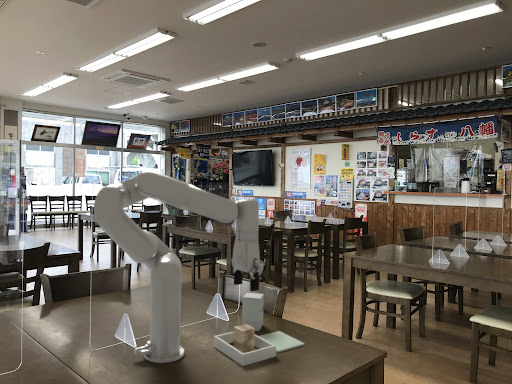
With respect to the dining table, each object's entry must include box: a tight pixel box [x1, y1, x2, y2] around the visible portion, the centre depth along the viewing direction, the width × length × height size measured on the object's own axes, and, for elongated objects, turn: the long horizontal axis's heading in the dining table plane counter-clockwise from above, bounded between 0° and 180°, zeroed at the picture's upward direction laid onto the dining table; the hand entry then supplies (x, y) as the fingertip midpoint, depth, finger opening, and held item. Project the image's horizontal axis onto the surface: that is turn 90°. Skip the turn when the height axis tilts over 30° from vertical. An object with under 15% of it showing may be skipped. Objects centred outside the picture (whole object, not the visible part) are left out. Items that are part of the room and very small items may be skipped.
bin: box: [213, 331, 277, 367], centre depth 133 cm, size 13×18×4 cm
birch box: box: [233, 324, 256, 353], centre depth 133 cm, size 5×5×8 cm
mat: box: [258, 330, 305, 353], centre depth 142 cm, size 12×14×1 cm
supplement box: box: [241, 292, 265, 332], centre depth 156 cm, size 7×7×13 cm
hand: (246, 287), depth 133 cm, fingers open, 9 cm apart
